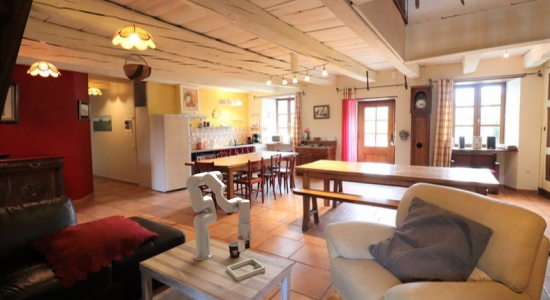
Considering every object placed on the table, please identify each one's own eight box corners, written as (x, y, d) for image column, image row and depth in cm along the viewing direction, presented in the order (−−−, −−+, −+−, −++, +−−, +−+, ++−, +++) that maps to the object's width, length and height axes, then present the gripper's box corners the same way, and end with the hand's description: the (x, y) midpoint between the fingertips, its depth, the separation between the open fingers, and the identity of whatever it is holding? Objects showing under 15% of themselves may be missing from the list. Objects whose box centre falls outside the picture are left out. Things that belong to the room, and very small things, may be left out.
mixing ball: (253, 270, 183) (252, 265, 182) (257, 269, 185) (257, 263, 184) (255, 273, 180) (255, 267, 179) (260, 271, 182) (260, 266, 181)
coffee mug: (226, 259, 198) (226, 245, 197) (231, 253, 206) (231, 240, 205) (242, 261, 195) (242, 247, 194) (246, 255, 203) (246, 242, 202)
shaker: (236, 250, 180) (236, 236, 179) (244, 247, 183) (243, 234, 182) (240, 253, 175) (239, 239, 174) (248, 250, 178) (247, 237, 177)
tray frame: (226, 271, 182) (226, 266, 182) (253, 261, 194) (253, 257, 193) (237, 281, 170) (237, 277, 170) (265, 271, 182) (264, 267, 181)
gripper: (233, 217, 183) (234, 243, 185) (245, 224, 169) (246, 253, 171) (243, 214, 187) (244, 240, 189) (256, 221, 173) (257, 250, 175)
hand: (245, 246), depth 180 cm, fingers closed on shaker, 4 cm apart
